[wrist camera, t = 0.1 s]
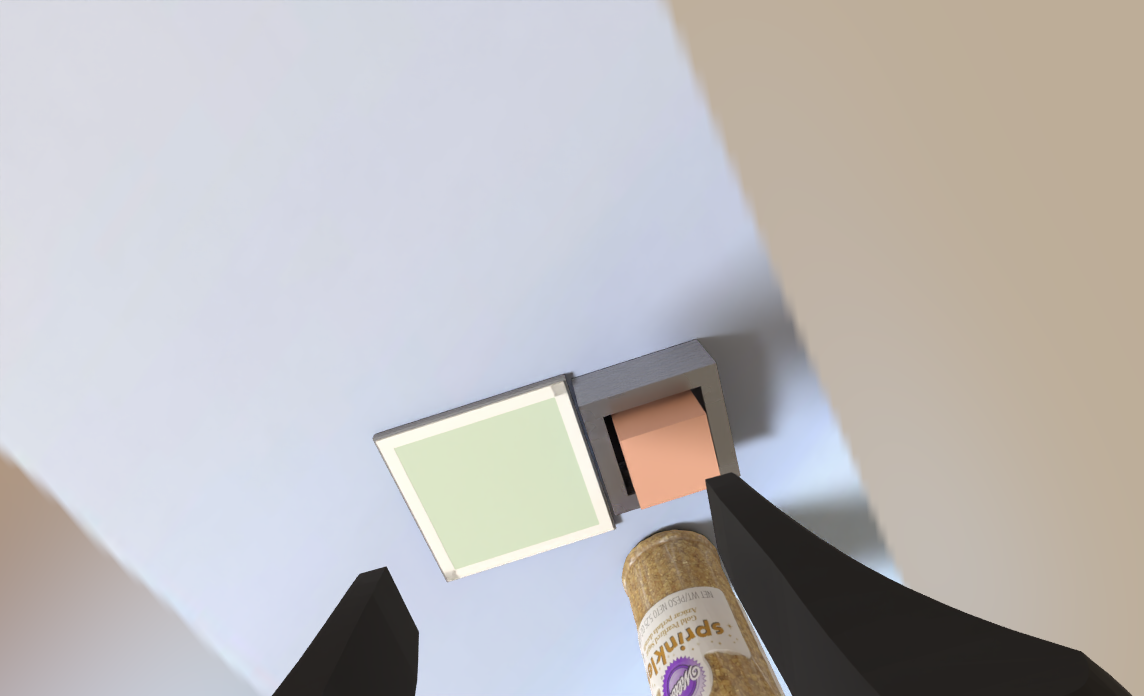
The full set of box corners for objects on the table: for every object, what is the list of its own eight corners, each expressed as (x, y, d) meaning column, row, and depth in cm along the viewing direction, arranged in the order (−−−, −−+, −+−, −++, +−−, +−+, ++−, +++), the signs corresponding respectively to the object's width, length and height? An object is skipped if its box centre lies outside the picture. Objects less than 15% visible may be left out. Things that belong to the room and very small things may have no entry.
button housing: (720, 445, 24) (740, 476, 22) (605, 481, 24) (615, 515, 22) (696, 339, 22) (715, 362, 20) (571, 378, 22) (578, 406, 20)
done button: (704, 452, 23) (722, 484, 21) (629, 476, 23) (641, 509, 21) (688, 387, 21) (706, 413, 20) (609, 411, 21) (620, 441, 20)
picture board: (615, 524, 25) (616, 530, 25) (447, 577, 25) (446, 584, 25) (564, 373, 22) (565, 378, 22) (373, 434, 22) (371, 440, 22)
